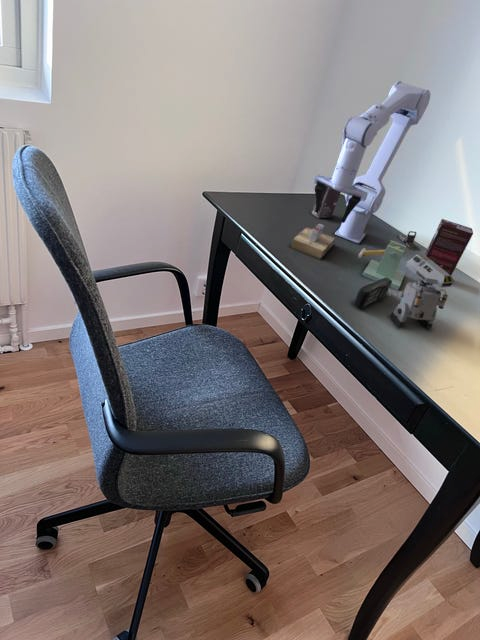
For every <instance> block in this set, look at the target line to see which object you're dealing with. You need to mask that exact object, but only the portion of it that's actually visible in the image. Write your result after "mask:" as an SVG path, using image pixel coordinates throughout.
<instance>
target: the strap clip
mask: <svg viewBox="0 0 480 640" xmlns="http://www.w3.org/2000/svg"><path fill="white" fill-rule="evenodd" d="M411 233H414V234H411ZM416 237H417V232H416V231H412V230H410V231H408V232H407V235H404V234H399V235H398V238H399V239H400V240H401V241H402V242H403V243H405V246H406V247H408V248H410V249H412V250H419V246H418V245H416V244H415V243H414V241H415V239H416Z"/></svg>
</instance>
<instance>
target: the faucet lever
mask: <svg viewBox="0 0 480 640" xmlns="http://www.w3.org/2000/svg"><path fill="white" fill-rule="evenodd" d="M393 247H396V248H398V249H401V248H400V246H393ZM385 250H386V249H370V250H369V249H368V250H367V248H365V247H364V248H362V249H361V251H360V252H359V253H358V255H357V257H358V259H362V257H363V256H381V255H382V256H383V255H384V252H385Z"/></svg>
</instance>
